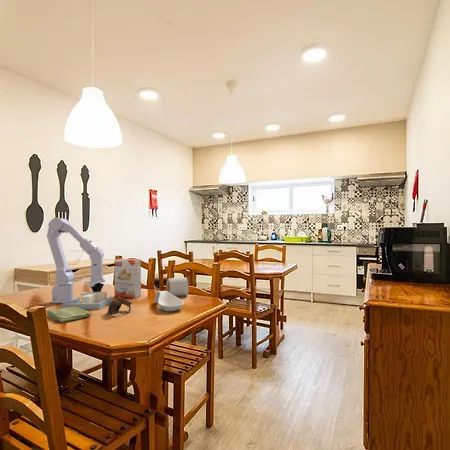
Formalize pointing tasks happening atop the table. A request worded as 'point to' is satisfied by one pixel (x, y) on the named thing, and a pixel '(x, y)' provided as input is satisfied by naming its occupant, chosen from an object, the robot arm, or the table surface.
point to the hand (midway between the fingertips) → (97, 297)
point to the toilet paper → (177, 286)
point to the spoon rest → (168, 301)
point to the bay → (86, 304)
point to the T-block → (93, 297)
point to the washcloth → (68, 314)
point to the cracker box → (128, 278)
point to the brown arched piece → (118, 305)
